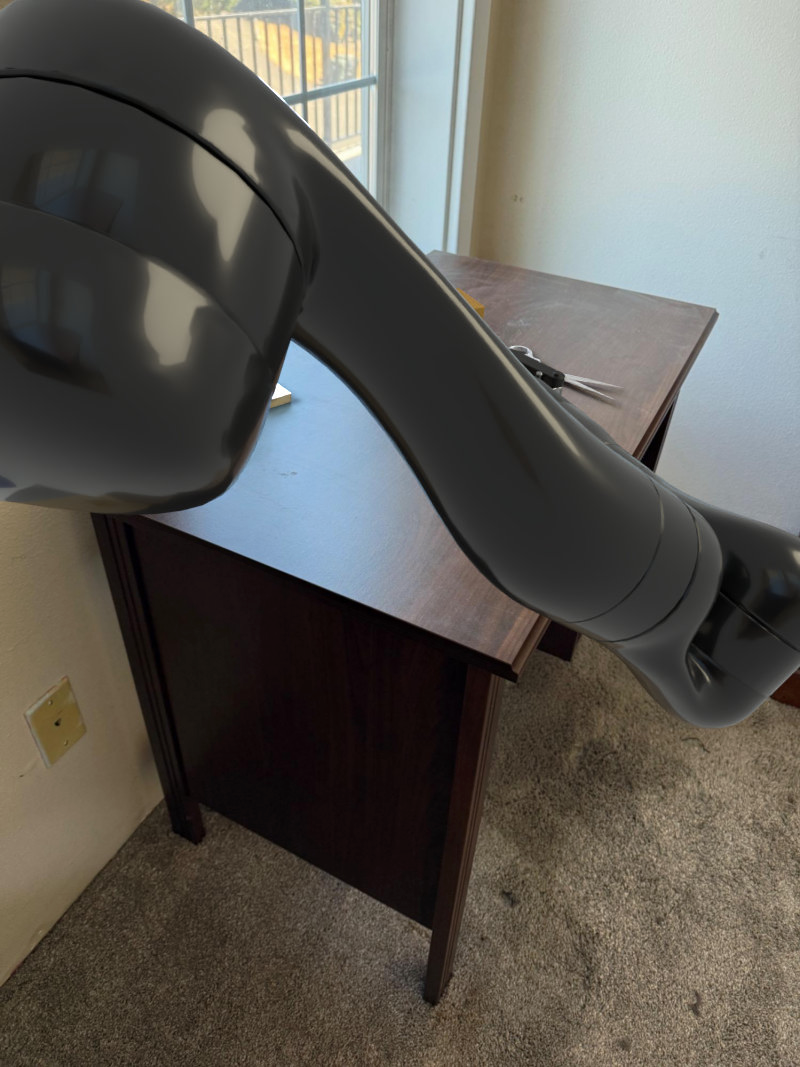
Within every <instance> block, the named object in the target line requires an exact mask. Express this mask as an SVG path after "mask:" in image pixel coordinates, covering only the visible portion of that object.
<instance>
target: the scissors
mask: <svg viewBox="0 0 800 1067" xmlns="http://www.w3.org/2000/svg"><path fill="white" fill-rule="evenodd" d="M509 348H510V349H514V350H517V351H519V352H521V353H524V354H525V355H527V356H529V357H531V358H533V359H535V360H537V361H539V362H541V359H540V358H537V357H534V356H533V351H532V350H531V349H530V348H529V347H526V346H523V345H511V346H509ZM564 374H565V379H564V383H565V382H566V383H568V384H570V385H573V386H575V387H578V388H581V389H583V390H585V391H588V392H591V393H594V394H596V395H598V396H602V397H604V398H607V399H610V400H613V401H617V400H616V399H615V398H612V397H611V396H608V395H606V394H604V393H602V392H600V391H598V390H596V389H594V388H592V387H589V386H587V385H585V384H583V383H581V382H585V383H589V384H597V385H602V386H608V387H609V386H610V387H615V388H622V389H623V388H624V387H622V386H619V385H614V384H611V383H607V382H602V381H598V380H595V379H591V378H586V377H582V376H577V375H573V374H570V373H569V374H568V373H564Z"/></svg>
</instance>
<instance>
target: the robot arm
mask: <svg viewBox="0 0 800 1067" xmlns="http://www.w3.org/2000/svg"><path fill="white" fill-rule="evenodd" d="M456 288H457V287H455V286H454V284H453V283H452V282H451V281H450V280H449V279H448V277H446V276H445V274H444V273H443V272H442V271H441V270H440V269H439V268H438V267H437V266H436V265H435V264H434V263H433V261H431V259H430V258H429V257H428V256H427V254H426V253H424V252H423V251H422V250H421V248H420V247H419V246H418V245H417V244H416V243H415V242H414V241H413V239H411V238H410V237H409V235H408V234H407V232H405V230H403V228H401V226H399V224H398V223H397V222H396V220H394V218H392V216H391V215H390V214H389V213H388V212H387V211H386V209H385V208H384V207H383V206H382V205H381V203H379V201H377V199H376V198H375V197H374V196H373V195H372V194H371V193H370V191H369V190H368V189H367V188H366V187H365V185H364V184H363V183H362V182H361V181H360V180H359V179H358V177H356V175H355V174H354V173H353V172H352V171H351V170H350V169H349V167H348V166H347V165H346V164H345V163H344V162H343V161H342V160H341V159H340V157H339V156H338V155H337V154H336V153H335V152H334V151H333V150H332V149H331V147H329V146H328V144H327V143H326V142H325V141H324V140H323V139H322V138H321V137H320V135H318V134H317V133H316V132H315V130H313V129H312V127H311V126H310V125H309V124H308V123H307V122H306V121H305V120H304V119H303V118H302V117H301V116H300V115H299V114H298V113H297V112H296V111H295V110H294V109H293V108H292V107H291V106H290V105H289V104H288V103H287V102H286V101H285V100H284V99H283V98H282V97H281V96H280V95H279V94H278V93H277V92H276V91H275V90H274V89H272V88H271V86H269V85H268V84H267V83H266V82H265V81H264V80H263V79H262V78H261V77H259V75H257V73H255V72H254V71H253V70H252V69H250V68H249V67H248V66H247V65H246V64H245V63H243V62H242V61H240V60H239V59H238V58H237V57H235V55H233V54H232V53H231V52H229V51H228V50H227V49H226V48H225V47H223V46H222V45H221V44H220V43H218V42H217V41H216V40H215V39H213V38H212V37H210V36H209V35H207V34H206V33H204V32H202V31H201V30H200V29H198V28H196V27H194V26H193V25H190V24H189V23H187V22H185V21H184V20H182V19H180V18H178V17H177V16H175V15H173V14H171V13H169V12H168V11H166V10H164V9H162V8H160V7H158V6H157V5H156V4H153V3H149V2H147V1H144V0H12V1H11V2H9V3H8V4H7V5H5V6H4V7H3V8H1V9H0V502H7V503H13V504H14V503H15V504H22V505H26V506H27V505H28V506H35V507H41V508H48V509H49V508H50V509H57V510H68V511H76V512H84V513H94V514H100V515H101V514H102V515H103V514H104V515H120V516H121V515H122V516H136V515H137V516H138V515H162V514H169V513H176V512H183V511H187V510H191V509H194V508H199V507H203V506H205V505H207V504H208V503H211V502H213V501H214V500H216V499H218V498H220V497H222V496H224V495H225V494H226V493H227V492H228V491H229V490H231V489H232V487H233V486H234V485H235V484H236V482H237V481H238V480H239V478H240V477H241V475H242V474H243V472H244V470H245V468H246V467H247V465H248V463H249V462H250V460H251V457H252V456H253V453H254V451H255V450H256V447H257V445H258V443H259V441H260V438H261V436H262V434H263V431H264V428H265V426H266V421H267V419H268V416H269V414H270V409H271V408H270V405H271V399H272V397H273V395H274V393H275V390H276V387H277V384H279V380H280V377H281V374H282V371H283V367H284V364H285V360H286V357H287V354H288V350H289V347H290V345H291V342H292V343H293V344H295V345H296V346H298V347H299V348H300V349H301V350H304V351H305V352H306V353H308V354H309V355H310V356H311V357H313V358H314V359H315V360H316V361H317V362H319V363H320V364H321V365H322V366H324V367H325V368H326V369H327V370H328V371H329V372H331V374H333V375H334V376H335V377H336V378H337V379H338V380H339V381H340V382H341V383H342V384H343V385H344V386H345V387H346V388H347V389H348V390H349V391H350V393H352V394H353V396H355V397H356V399H357V400H358V401H359V402H360V403H361V405H362V406H363V407H364V409H365V410H366V411H367V413H369V415H370V416H371V417H372V419H373V420H374V422H376V424H377V425H378V427H380V429H381V430H382V431H383V432H384V434H385V435H386V437H387V438H388V439H389V442H390V443H391V444H392V446H393V447H394V448H395V450H396V452H397V453H398V454H399V456H400V457H401V459H402V461H403V462H404V463H405V465H406V466H407V468H408V470H409V471H410V473H411V474H412V476H413V478H414V480H415V481H416V482H417V484H418V486H419V487H420V489H421V490H422V492H423V494H424V496H425V497H426V500H428V503H429V504H430V506H431V507H432V509H433V511H434V512H435V514H436V515H437V517H438V518H439V520H440V522H441V524H442V525H443V526H444V528H445V530H446V531H447V533H448V535H449V537H451V539H452V540H453V542H454V543H455V544H456V546H457V547H458V548H459V550H460V551H461V552H462V553H463V554H464V556H465V557H466V558H467V559H468V561H469V562H470V563H471V564H472V566H474V568H475V569H476V571H477V572H479V573H480V574H481V575H482V576H483V578H484V579H486V580H487V581H488V582H489V583H490V584H491V585H492V586H493V587H495V588H496V589H497V590H498V591H500V592H501V593H502V594H504V595H505V596H507V597H508V598H509V599H511V600H512V601H514V602H515V603H517V604H518V605H520V606H522V607H523V608H525V609H527V610H529V611H531V612H533V613H535V614H537V615H540V616H542V617H544V618H545V619H548V620H550V621H552V622H555V623H557V624H558V625H560V626H563V627H565V628H568V629H569V630H571V631H574V632H576V633H578V634H581V635H583V636H584V637H587V638H588V639H591V640H593V641H594V642H597V643H598V644H600V646H603V647H604V648H606V649H607V650H608V651H610V652H611V653H612V654H613V655H614V656H615V657H616V658H618V659H619V661H620V662H622V664H624V665H625V667H626V668H627V670H629V672H630V673H631V675H632V676H633V677H634V679H636V681H637V682H638V683H639V685H640V686H641V687H642V688H643V690H644V691H645V692H646V693H647V694H648V695H649V697H651V699H652V700H653V701H655V703H657V705H658V706H659V707H660V708H661V709H663V710H664V711H665V712H666V713H667V714H669V715H670V716H671V717H673V718H674V719H675V720H677V721H679V722H681V723H682V724H685V725H687V726H690V727H692V728H695V729H700V730H720V729H721V730H722V729H724V728H728V727H731V726H735V725H737V724H739V723H740V722H743V721H744V720H745V719H747V718H748V717H750V716H751V715H752V714H753V713H754V712H756V710H758V708H760V707H761V705H763V704H764V702H766V701H767V700H768V699H769V697H770V696H772V695H773V694H774V693H775V692H776V691H777V690H778V689H779V688H780V687H781V686H782V685H783V684H784V683H785V682H786V681H787V680H788V679H789V678H790V677H791V676H792V675H793V674H794V673H795V672H796V671H797V670H798V669H799V668H800V537H799V536H798V535H795V534H792V533H791V532H788V531H786V530H783V529H781V528H779V527H776V526H774V525H772V524H768V523H765V522H762V521H760V520H756V519H753V518H751V517H747V516H745V515H742V514H739V513H735V512H734V511H729V510H726V509H724V508H721V507H718V506H715V505H713V504H710V503H708V502H706V501H703V500H701V499H699V498H697V497H694V496H692V495H690V494H688V493H687V492H684V491H682V490H681V489H679V488H678V487H676V486H674V485H672V484H671V483H669V482H668V481H666V480H665V479H663V478H662V477H661V476H660V475H659V474H656V473H655V472H654V471H653V470H652V469H650V468H649V467H647V466H646V465H645V464H644V463H642V462H641V461H640V460H639V459H637V457H634V455H632V454H631V453H630V452H628V451H627V450H626V449H624V448H623V447H622V446H621V445H619V444H618V442H617V441H616V440H615V439H614V438H613V437H612V436H611V435H610V434H609V432H608V431H607V430H606V429H605V428H603V426H602V425H600V424H599V423H598V422H597V421H595V420H594V419H593V418H591V417H590V416H589V415H588V414H586V413H585V412H583V411H582V410H581V409H580V408H578V407H577V406H576V405H574V403H573V402H570V401H569V400H568V399H567V398H566V397H564V396H563V389H564V384H565V381H564V379H565V374H566V373H564V372H562V371H560V370H558V369H556V368H553V367H552V366H549V365H547V364H545V363H543V362H542V361H540V362H539V361H537V360H535V359H533V358H531V357H529V356H527V355H525V354H526V353H524V352H522V351H517V350H514V349H510V347H508V346H507V345H506V344H505V342H503V340H502V339H501V338H500V337H499V336H498V334H496V332H495V331H494V330H493V329H492V328H491V326H489V324H488V323H487V321H485V320H484V318H483V319H482V318H481V316H480V315H479V314H478V313H477V312H476V311H475V310H474V308H473V307H472V306H471V305H470V304H469V303H468V302H467V301H466V300H465V298H464V297H463V296H462V295H461V294H460V293H459V292H458V290H457V289H456Z"/></svg>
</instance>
